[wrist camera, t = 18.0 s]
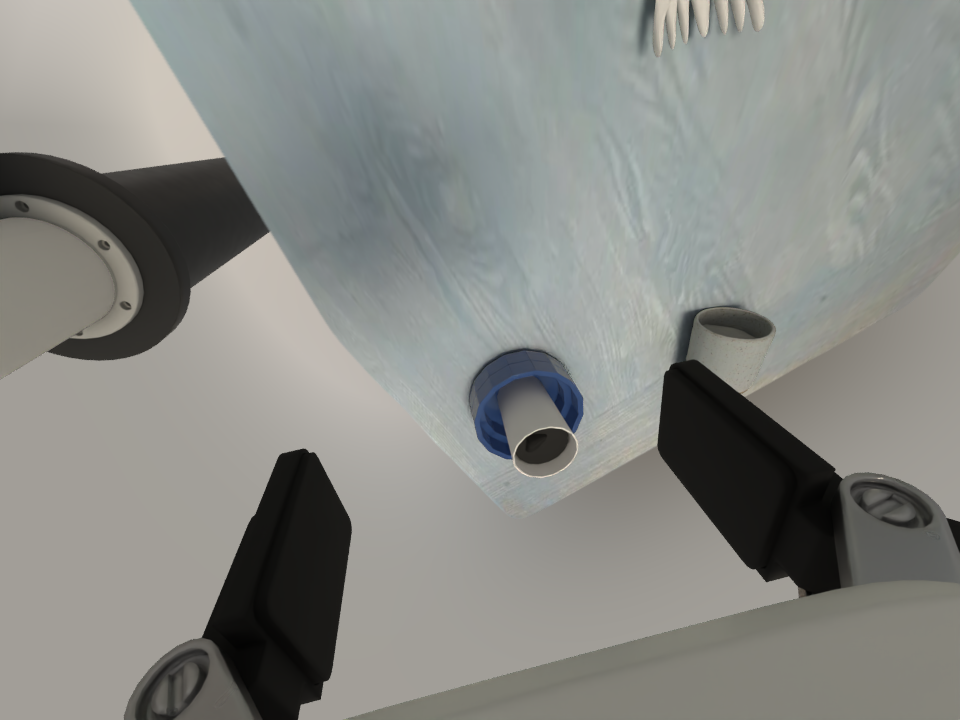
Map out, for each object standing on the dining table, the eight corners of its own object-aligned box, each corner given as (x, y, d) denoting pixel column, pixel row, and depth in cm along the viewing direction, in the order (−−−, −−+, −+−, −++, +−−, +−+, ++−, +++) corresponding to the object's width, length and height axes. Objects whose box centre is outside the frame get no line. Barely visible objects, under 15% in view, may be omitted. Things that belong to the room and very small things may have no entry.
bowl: (449, 408, 47) (453, 436, 43) (510, 330, 43) (521, 351, 39) (526, 445, 52) (536, 472, 48) (587, 377, 48) (605, 401, 44)
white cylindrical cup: (491, 418, 48) (509, 480, 40) (495, 372, 45) (515, 428, 36) (543, 415, 49) (572, 475, 41) (551, 370, 46) (584, 424, 37)
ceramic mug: (669, 371, 50) (711, 408, 43) (680, 312, 45) (727, 342, 39) (746, 356, 51) (798, 390, 44) (763, 297, 46) (823, 324, 40)
